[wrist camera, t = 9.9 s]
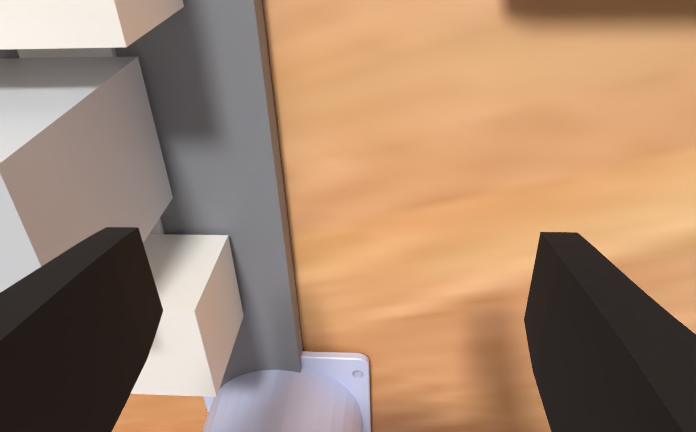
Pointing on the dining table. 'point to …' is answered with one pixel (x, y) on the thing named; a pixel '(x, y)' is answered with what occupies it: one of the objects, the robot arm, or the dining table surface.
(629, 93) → the dining table surface
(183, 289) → the mounted modules
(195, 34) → the rail board
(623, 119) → the dining table surface
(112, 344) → the robot arm
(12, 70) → the block
